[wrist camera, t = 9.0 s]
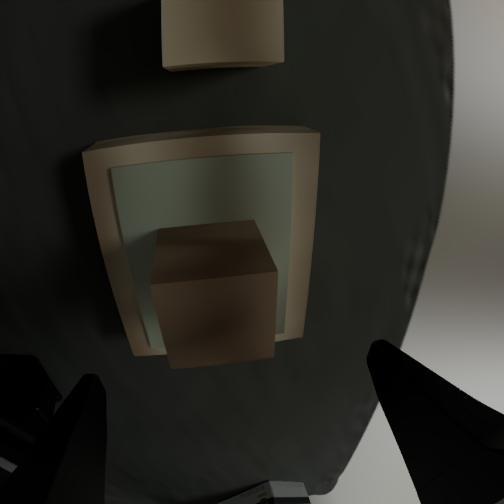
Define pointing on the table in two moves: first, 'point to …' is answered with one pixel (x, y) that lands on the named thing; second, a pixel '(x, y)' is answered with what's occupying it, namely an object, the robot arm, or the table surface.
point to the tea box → (272, 494)
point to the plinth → (203, 208)
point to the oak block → (221, 33)
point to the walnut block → (214, 293)
